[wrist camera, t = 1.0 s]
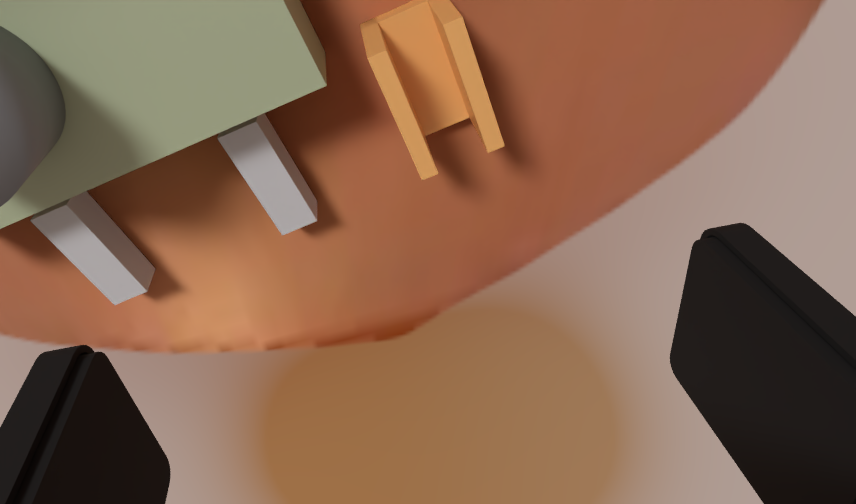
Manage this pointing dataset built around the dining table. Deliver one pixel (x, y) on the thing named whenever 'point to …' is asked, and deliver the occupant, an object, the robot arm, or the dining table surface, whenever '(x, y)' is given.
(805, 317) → the robot arm
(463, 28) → the chute
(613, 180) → the dining table surface
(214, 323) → the dining table surface
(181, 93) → the green plate with pegs
